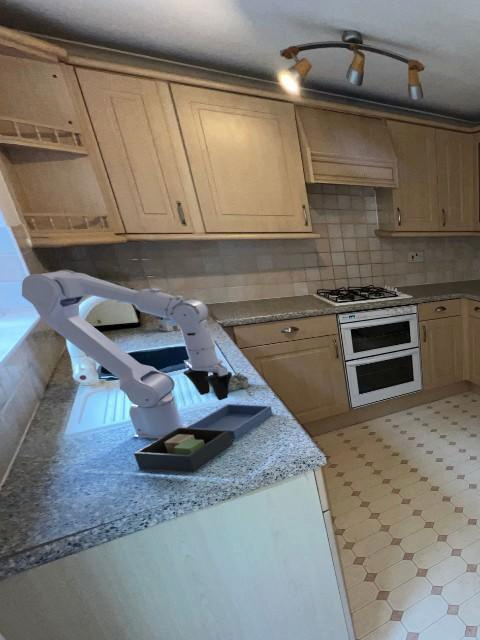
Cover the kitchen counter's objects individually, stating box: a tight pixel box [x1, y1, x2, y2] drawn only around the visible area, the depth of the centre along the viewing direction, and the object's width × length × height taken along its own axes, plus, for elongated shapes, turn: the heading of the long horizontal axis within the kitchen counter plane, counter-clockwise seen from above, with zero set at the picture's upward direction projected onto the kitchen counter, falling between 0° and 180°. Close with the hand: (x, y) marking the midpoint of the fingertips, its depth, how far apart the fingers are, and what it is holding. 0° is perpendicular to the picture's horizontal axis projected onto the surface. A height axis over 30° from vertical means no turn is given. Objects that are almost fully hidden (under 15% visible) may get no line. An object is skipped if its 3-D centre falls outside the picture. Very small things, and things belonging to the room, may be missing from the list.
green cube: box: [174, 439, 205, 455], centre depth 95 cm, size 4×4×4 cm
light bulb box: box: [155, 315, 181, 333], centre depth 205 cm, size 11×7×11 cm, turn 159°
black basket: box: [133, 428, 234, 473], centre depth 96 cm, size 13×12×4 cm
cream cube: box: [164, 434, 195, 454], centre depth 97 cm, size 4×4×4 cm
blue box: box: [187, 403, 273, 441], centre depth 111 cm, size 13×15×3 cm
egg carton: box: [209, 372, 250, 393], centre depth 135 cm, size 11×8×4 cm
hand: (214, 396), depth 108 cm, fingers open, 7 cm apart
